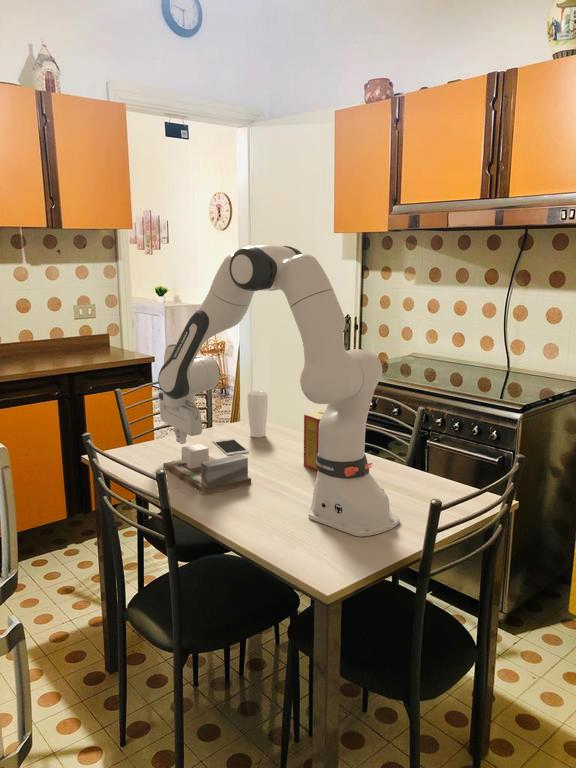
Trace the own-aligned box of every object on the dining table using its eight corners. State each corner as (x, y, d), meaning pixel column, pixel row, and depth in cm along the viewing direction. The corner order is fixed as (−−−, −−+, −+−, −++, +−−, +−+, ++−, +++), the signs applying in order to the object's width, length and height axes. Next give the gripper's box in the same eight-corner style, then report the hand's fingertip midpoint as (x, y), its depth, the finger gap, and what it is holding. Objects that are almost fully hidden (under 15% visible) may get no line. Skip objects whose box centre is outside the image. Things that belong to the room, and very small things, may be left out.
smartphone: (232, 440, 211) (232, 437, 211) (249, 454, 197) (249, 451, 197) (212, 443, 208) (212, 440, 208) (227, 457, 194) (227, 454, 194)
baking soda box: (317, 472, 180) (318, 418, 177) (303, 465, 185) (304, 413, 182) (342, 465, 186) (343, 413, 182) (328, 459, 191) (329, 408, 187)
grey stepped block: (251, 483, 171) (250, 457, 170) (205, 495, 163) (205, 467, 162) (205, 458, 191) (205, 435, 189) (163, 468, 183) (162, 443, 181)
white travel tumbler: (259, 431, 219) (259, 389, 216) (271, 436, 214) (271, 393, 211) (243, 435, 215) (243, 392, 212) (256, 440, 210) (255, 396, 207)
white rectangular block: (208, 464, 181) (208, 448, 180) (182, 470, 176) (181, 453, 175) (200, 460, 185) (199, 443, 184) (174, 465, 180) (173, 449, 179)
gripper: (207, 403, 178) (207, 450, 181) (174, 389, 194) (175, 432, 197) (187, 406, 174) (188, 454, 177) (155, 392, 190) (156, 436, 193)
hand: (181, 442), depth 187 cm, fingers closed
